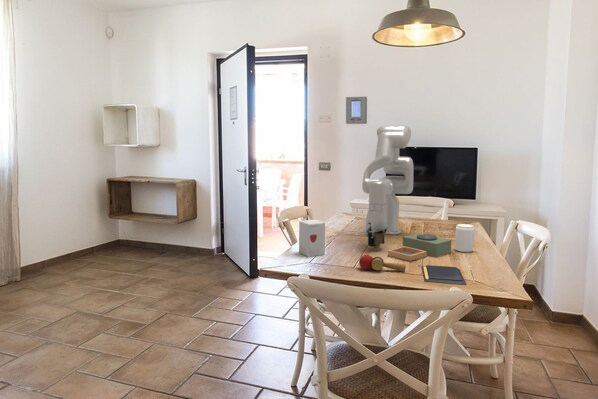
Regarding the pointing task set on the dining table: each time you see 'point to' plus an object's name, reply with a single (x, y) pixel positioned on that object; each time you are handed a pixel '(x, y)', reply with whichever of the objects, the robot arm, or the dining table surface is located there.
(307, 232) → the supplement box
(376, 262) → the kendama
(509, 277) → the dining table surface
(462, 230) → the beverage can
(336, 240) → the dining table surface
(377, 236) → the dark bronze domed piece
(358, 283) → the dining table surface
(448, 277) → the wallet
